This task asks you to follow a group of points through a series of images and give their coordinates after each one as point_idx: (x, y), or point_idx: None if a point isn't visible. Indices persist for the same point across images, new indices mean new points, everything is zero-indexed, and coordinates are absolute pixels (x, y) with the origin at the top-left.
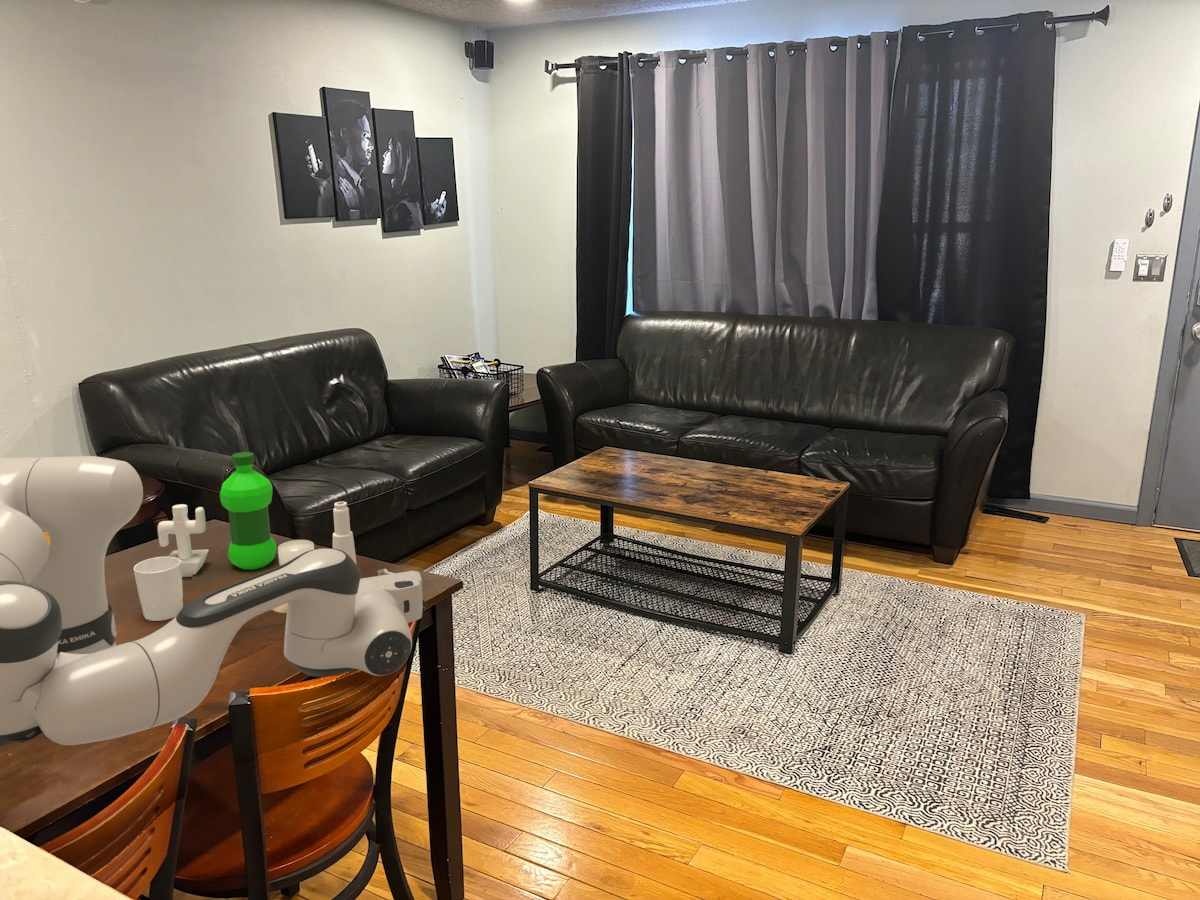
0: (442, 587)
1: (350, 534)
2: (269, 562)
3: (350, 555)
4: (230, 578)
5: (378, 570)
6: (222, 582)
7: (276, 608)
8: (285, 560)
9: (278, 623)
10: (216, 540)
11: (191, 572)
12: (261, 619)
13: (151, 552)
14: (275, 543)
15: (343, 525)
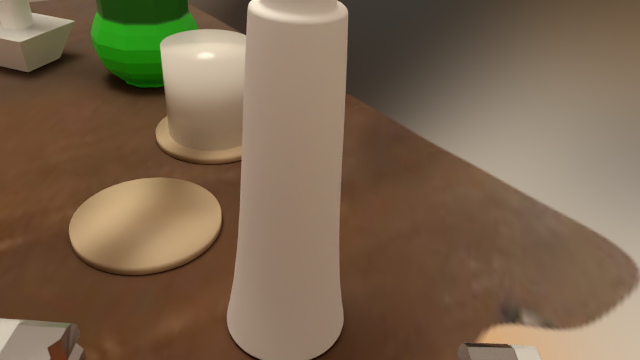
0: (614, 282)
1: (333, 17)
2: None
3: (316, 127)
4: (84, 93)
5: (471, 357)
6: (59, 99)
7: (83, 228)
8: (170, 79)
9: (44, 301)
10: None
11: (19, 62)
12: (17, 260)
13: None
14: None
15: None
